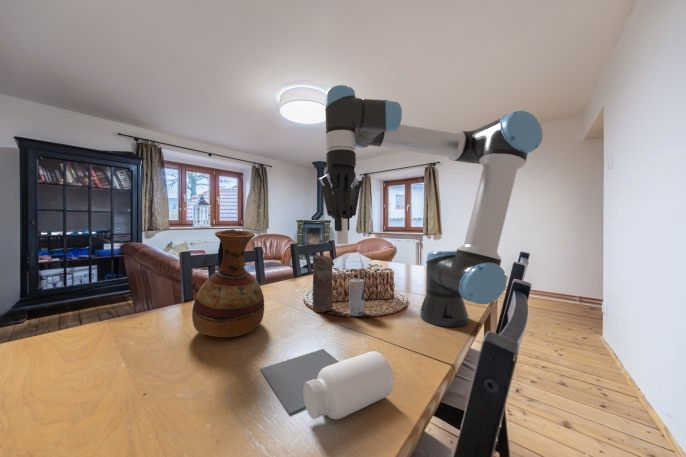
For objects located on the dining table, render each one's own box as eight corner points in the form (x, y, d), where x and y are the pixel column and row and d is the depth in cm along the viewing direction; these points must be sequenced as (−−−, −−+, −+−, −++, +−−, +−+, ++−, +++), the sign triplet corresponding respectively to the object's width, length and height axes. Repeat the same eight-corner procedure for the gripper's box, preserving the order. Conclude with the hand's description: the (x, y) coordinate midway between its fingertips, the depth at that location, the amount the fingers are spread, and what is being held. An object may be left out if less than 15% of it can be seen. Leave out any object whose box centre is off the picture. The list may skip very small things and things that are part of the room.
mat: (323, 349, 66) (323, 348, 66) (362, 382, 53) (362, 381, 53) (260, 369, 57) (260, 368, 57) (289, 415, 44) (289, 413, 44)
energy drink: (365, 312, 94) (365, 279, 94) (361, 317, 89) (362, 282, 89) (351, 310, 96) (351, 277, 96) (346, 315, 91) (347, 280, 91)
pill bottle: (362, 364, 55) (295, 388, 47) (377, 341, 51) (307, 363, 43) (383, 404, 49) (311, 438, 41) (401, 381, 45) (326, 415, 37)
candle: (312, 306, 100) (313, 254, 99) (332, 306, 100) (332, 254, 100) (312, 313, 92) (312, 257, 92) (332, 313, 93) (333, 257, 92)
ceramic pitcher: (202, 353, 64) (201, 231, 63) (185, 327, 79) (184, 228, 78) (275, 331, 77) (276, 230, 76) (249, 312, 92) (249, 228, 91)
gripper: (351, 158, 74) (352, 241, 75) (311, 151, 66) (313, 244, 67) (369, 152, 68) (370, 243, 69) (327, 144, 60) (329, 246, 61)
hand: (342, 243), depth 68 cm, fingers closed
